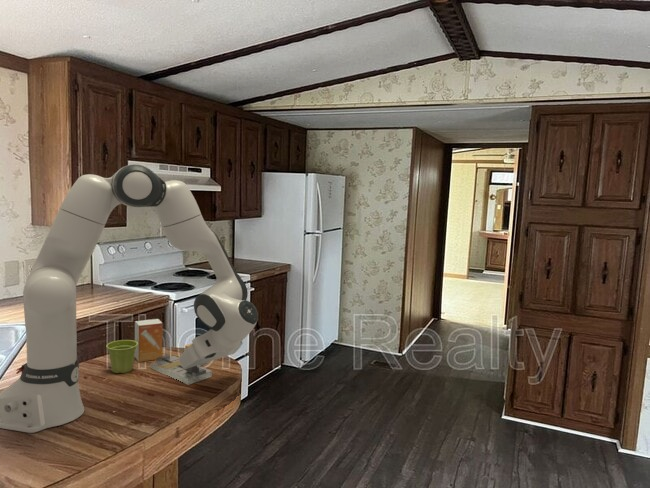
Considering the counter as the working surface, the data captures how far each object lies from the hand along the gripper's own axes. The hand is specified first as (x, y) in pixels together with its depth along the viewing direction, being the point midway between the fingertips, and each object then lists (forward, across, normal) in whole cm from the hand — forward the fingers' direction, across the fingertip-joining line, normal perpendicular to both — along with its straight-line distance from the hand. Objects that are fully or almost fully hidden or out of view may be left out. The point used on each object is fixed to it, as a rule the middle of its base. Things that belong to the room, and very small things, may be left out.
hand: (200, 364), depth 147 cm
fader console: (+11, 0, -3) cm, 11 cm away
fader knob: (+5, 0, 0) cm, 5 cm away
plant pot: (+22, +11, -14) cm, 28 cm away
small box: (+25, -1, -17) cm, 30 cm away
